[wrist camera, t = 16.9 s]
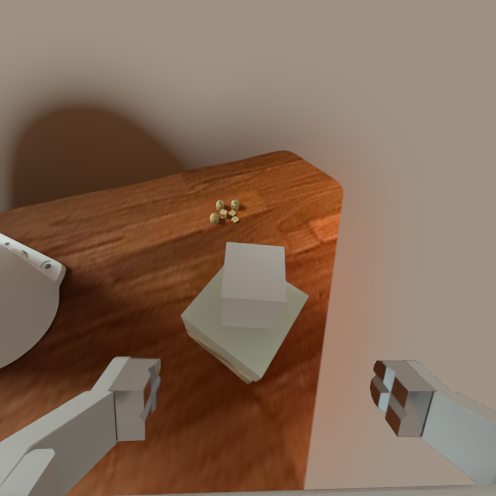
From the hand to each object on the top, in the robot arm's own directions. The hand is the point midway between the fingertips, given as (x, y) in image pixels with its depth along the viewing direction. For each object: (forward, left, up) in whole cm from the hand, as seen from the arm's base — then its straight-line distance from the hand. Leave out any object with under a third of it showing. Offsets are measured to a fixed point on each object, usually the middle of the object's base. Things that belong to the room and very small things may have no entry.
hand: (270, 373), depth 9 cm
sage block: (-4, +7, -21) cm, 22 cm away
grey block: (-4, +7, -16) cm, 18 cm away
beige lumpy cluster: (-19, +22, -26) cm, 39 cm away
